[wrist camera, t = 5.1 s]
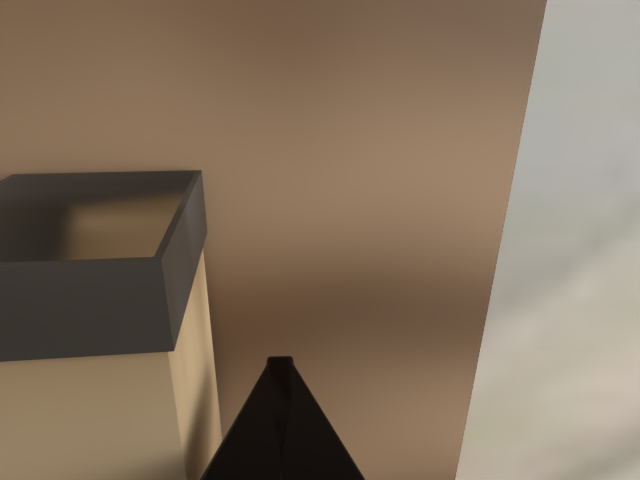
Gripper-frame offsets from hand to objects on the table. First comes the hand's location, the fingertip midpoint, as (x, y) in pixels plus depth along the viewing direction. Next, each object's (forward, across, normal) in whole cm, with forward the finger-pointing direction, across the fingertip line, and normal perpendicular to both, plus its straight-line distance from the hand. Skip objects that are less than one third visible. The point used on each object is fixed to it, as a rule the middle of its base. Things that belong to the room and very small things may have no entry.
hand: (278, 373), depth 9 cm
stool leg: (+1, +3, +3) cm, 4 cm away
